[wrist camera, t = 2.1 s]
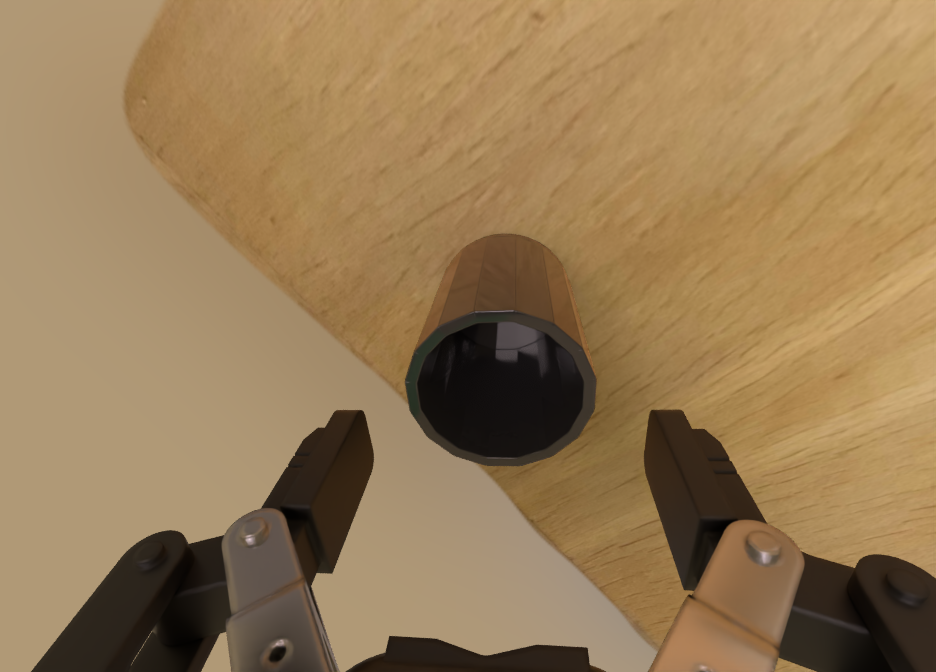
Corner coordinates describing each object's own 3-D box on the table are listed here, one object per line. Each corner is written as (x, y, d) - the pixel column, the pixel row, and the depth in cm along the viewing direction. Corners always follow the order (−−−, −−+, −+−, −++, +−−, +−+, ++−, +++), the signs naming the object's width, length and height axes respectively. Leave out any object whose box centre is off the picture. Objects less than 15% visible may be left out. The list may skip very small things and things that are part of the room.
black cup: (448, 352, 23) (418, 465, 16) (435, 236, 20) (392, 313, 13) (568, 349, 23) (591, 467, 16) (571, 229, 20) (601, 307, 13)
